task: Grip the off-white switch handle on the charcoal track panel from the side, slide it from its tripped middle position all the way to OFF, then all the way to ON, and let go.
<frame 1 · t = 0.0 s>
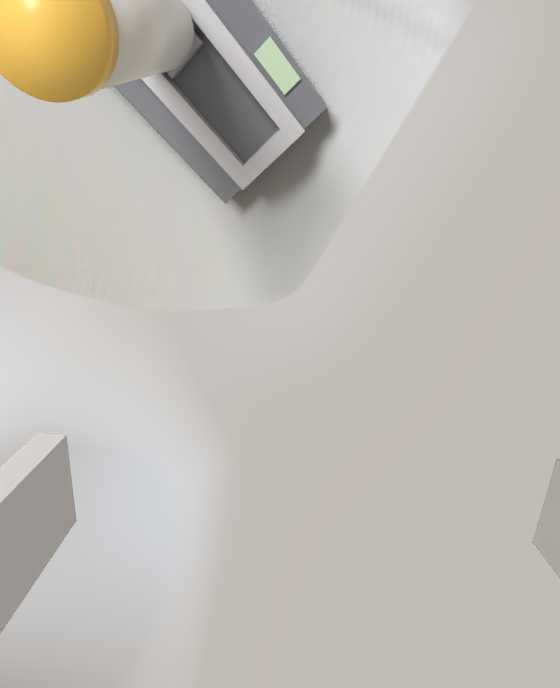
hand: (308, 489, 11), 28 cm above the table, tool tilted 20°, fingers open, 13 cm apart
switch panel: (174, 31, 28), on the table
switch handle: (122, 28, 19), point 10 cm above the table, slide at 5.0 cm
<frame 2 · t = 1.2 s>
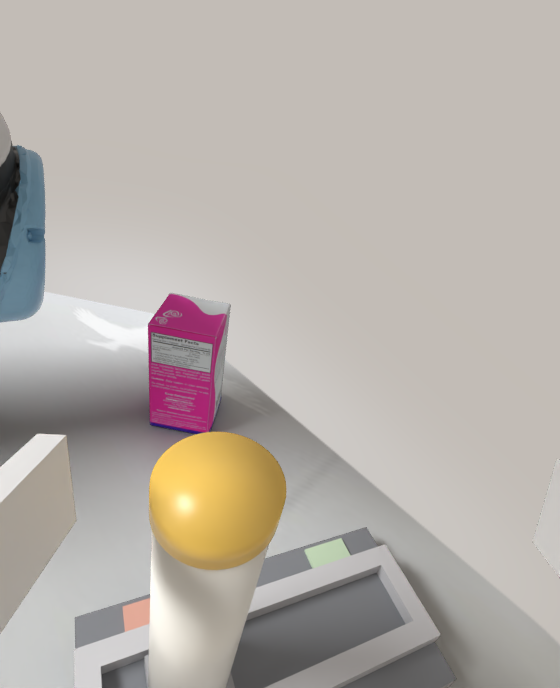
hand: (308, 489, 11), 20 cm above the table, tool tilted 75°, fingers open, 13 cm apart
switch panel: (264, 662, 25), on the table
supplement box: (186, 413, 41), on the table
switch handle: (199, 606, 17), point 10 cm above the table, slide at 0.3 cm
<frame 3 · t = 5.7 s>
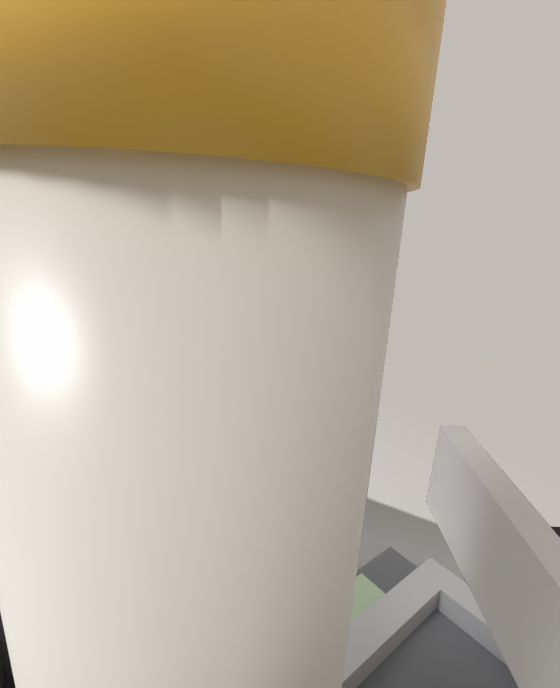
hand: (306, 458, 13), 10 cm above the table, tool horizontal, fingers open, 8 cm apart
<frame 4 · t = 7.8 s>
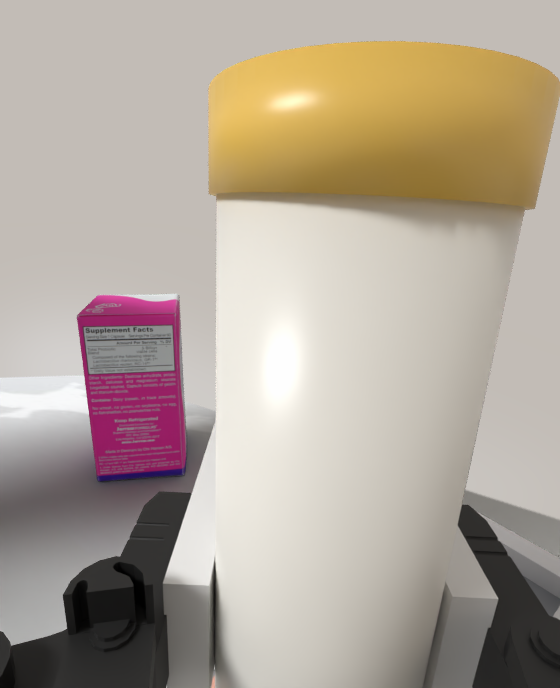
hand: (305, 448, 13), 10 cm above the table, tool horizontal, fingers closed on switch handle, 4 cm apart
supplement box: (144, 459, 30), on the table
switch handle: (322, 589, 8), point 10 cm above the table, slide at -0.1 cm, touching gripper
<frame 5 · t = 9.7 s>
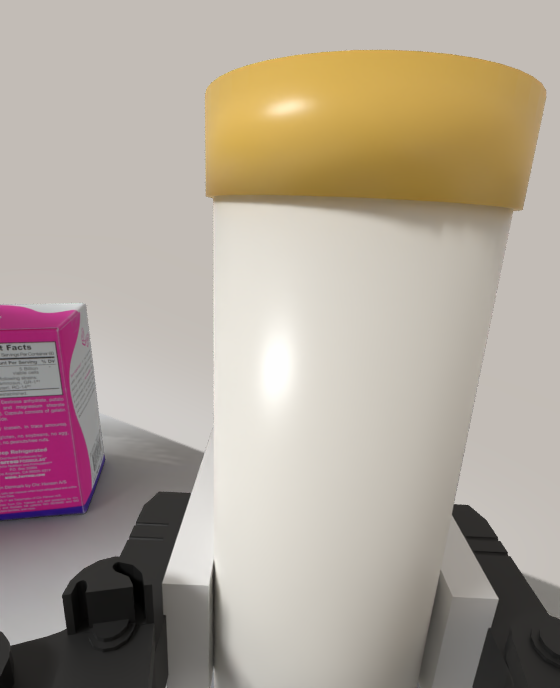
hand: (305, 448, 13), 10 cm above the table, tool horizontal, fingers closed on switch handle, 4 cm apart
supplement box: (48, 491, 26), on the table
switch handle: (319, 584, 8), point 10 cm above the table, slide at 6.4 cm, touching gripper
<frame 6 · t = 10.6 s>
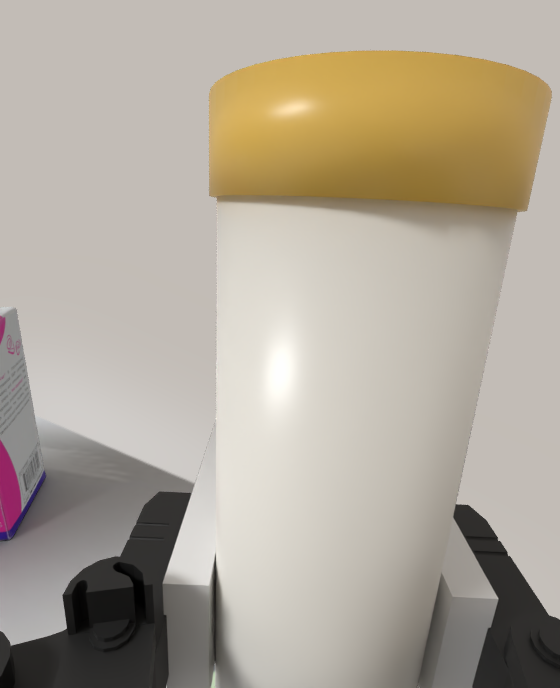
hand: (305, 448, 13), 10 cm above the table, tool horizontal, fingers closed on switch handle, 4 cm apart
switch handle: (320, 583, 8), point 10 cm above the table, slide at 10.0 cm, touching gripper
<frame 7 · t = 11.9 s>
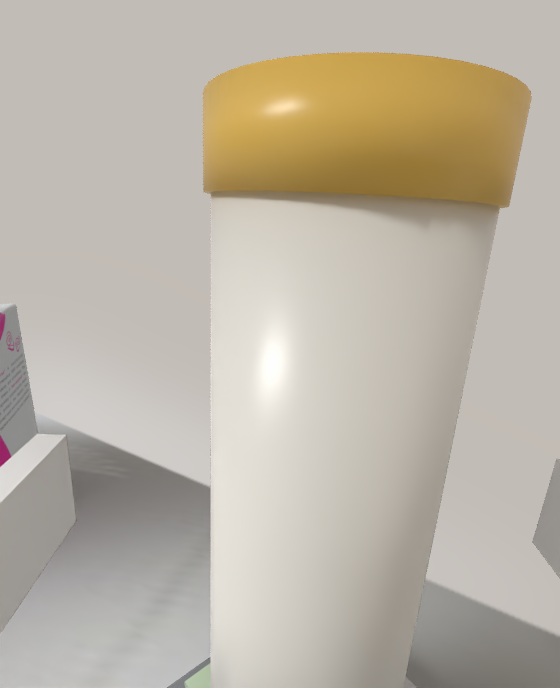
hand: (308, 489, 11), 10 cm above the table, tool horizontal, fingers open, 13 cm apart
switch handle: (313, 571, 8), point 10 cm above the table, slide at 10.0 cm
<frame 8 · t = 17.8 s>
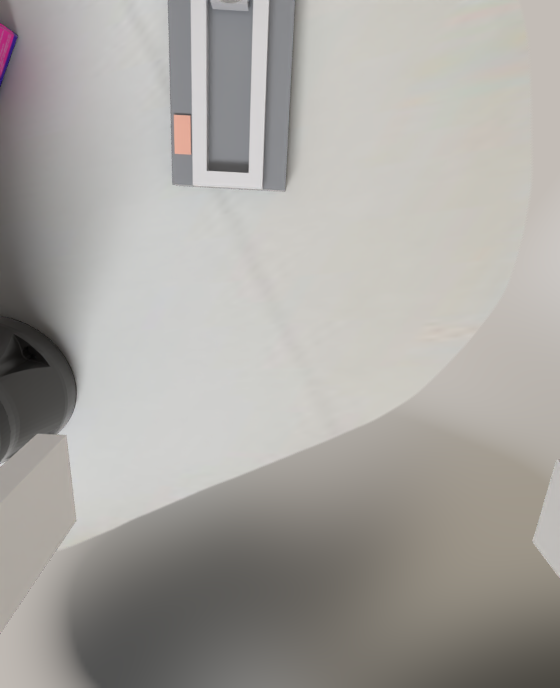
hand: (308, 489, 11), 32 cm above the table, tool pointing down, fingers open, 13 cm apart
switch panel: (233, 64, 36), on the table
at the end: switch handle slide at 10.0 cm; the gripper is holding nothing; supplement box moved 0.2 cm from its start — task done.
